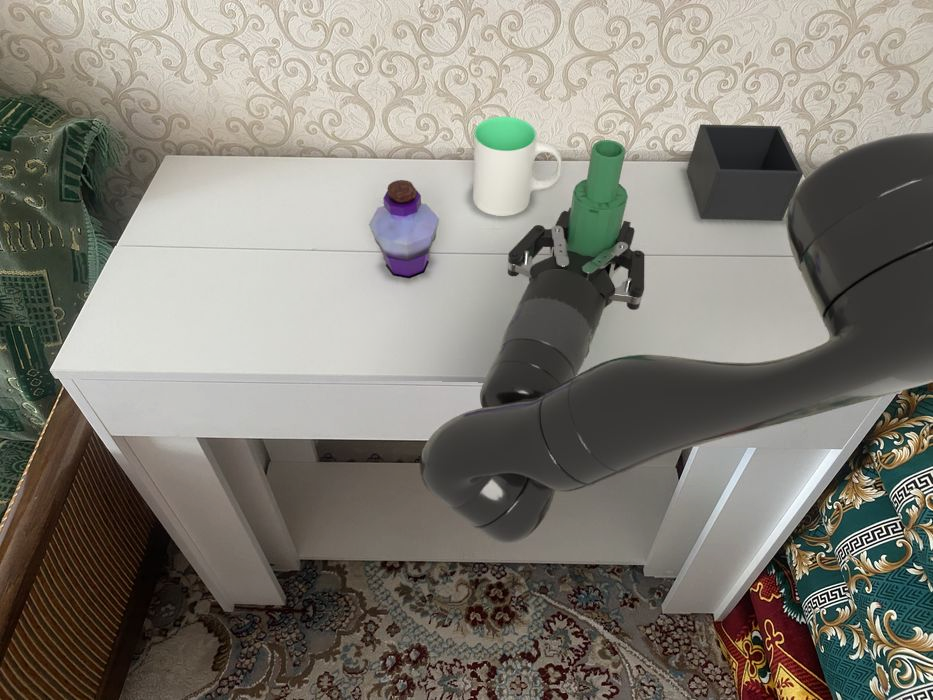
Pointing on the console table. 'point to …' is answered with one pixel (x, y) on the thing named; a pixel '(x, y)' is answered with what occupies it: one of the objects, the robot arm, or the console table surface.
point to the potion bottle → (404, 230)
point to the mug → (507, 165)
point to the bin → (742, 172)
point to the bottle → (598, 202)
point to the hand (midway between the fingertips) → (598, 221)
